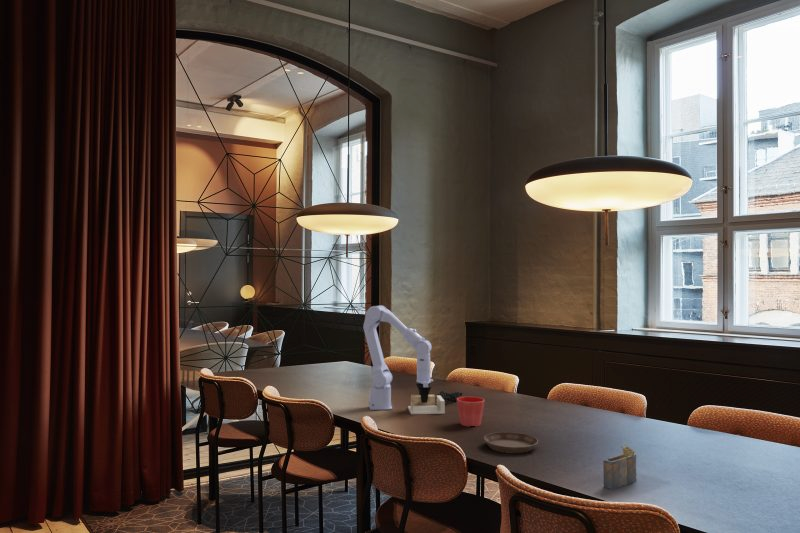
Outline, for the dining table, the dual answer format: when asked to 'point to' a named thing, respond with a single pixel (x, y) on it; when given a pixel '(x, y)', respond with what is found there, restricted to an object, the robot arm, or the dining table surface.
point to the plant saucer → (510, 442)
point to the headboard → (430, 408)
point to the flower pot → (470, 410)
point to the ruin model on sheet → (620, 469)
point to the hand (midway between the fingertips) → (423, 401)
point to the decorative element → (449, 396)
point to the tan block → (417, 401)
